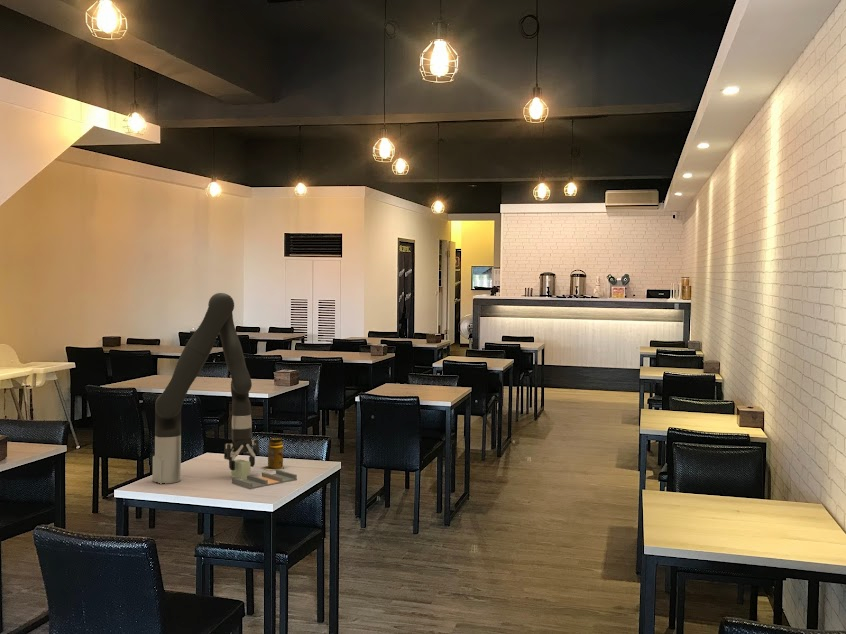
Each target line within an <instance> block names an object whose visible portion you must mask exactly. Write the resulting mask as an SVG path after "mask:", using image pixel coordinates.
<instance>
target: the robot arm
mask: <svg viewBox="0 0 846 634" xmlns="http://www.w3.org/2000/svg"><path fill="white" fill-rule="evenodd" d="M234 309H235V302H234V299H233V297H232V296H231V295H229V294H227V293H224V292H217V293H215V294H213V295H212V296H210V298H209V300H208V308H207V311H206V312H205V315H204V317H203V319H202V321H201V322H200V324H199V325H198V327H197V329H196V330H195V331H194V332H193V334H192V336H190V338H189V340H188V341H187V343H186V344H185V346H184V348H183V350H182V351H181V354H180V356H179V358H178V360H177V362H176V365H175V369H174V371H173V374H172V376H171V379H170V380H169V382H168V384H167V386H166V387H165V389H164V390H163V392H161V394H159V395H158V397H156V399H155V403H154V404H155V405H154V407H155V408H154V409H155V412H154V413H155V414H154V416H155V417H154V418H155V419H154V421H155V422H154V455H153V456H152V480H151V481H152V482H153V481H155V482H154V483H156V482H158V483H157V484H159V483H160V484H159V485H161V484H162V483H165V484H174V483H178V482H180V481H181V479H182V478H181V474H182V473H181V472H182V471H181V468H182V467H181V466H182V465H181V464H182V460H181V459H182V449H181V448H182V406H183V403H184V401H185V398H186V396H187V394H188V391H189V390H190V388H191V386H192V385H193V382H194V381H195V380H196V378H197V377H198V375H199V374H200V373H201V370H202V368H203V367H204V365H205V364H206V362H207V360H208V359H209V356H210V354H211V352H212V351H213V348H214V345H215V343H216V341H217V338H218V335H219V338H220V342H221V347H222V353H223V355H224V360H225V363H226V367H227V369H228V370H229V372H230V373H229V374H230V378H231V382H230V392H231V399H232V400H231V401H232V405H231V412H232V413H231V415H232V417H231V439H232V441H231V443H224V448H223V449H224V451H223V452H224V453H223V459H224V460H227V461H228V468H229V470H230V471H231V470H235V461H234V460H236V458H237V457H238V455H239V454H243V453H247V454H248V462H250V468H251V467H254V466H255V463H256V462H255V461H256V459H255V458H256V456H259V455H260V443H259V439H256V438H253V439H252V437H253V435H252V434H253V433H252V431H253V430H252V429H253V427H252V422H253V421H252V404H251V401H250V391H251V389H252V385H253V384H252V379H251V375H250V372H249V370H248V368H247V364H246V360H245V355H244V351H243V348H242V347H243V346H242V344H241V341H240V339H239V337H238V333H237V330H236V326H235V322H234V317H233V311H234Z"/></svg>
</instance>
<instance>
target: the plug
mask: <svg viewBox="0 0 846 634" xmlns="http://www.w3.org/2000/svg"><path fill="white" fill-rule="evenodd" d="M234 461H235V470H230V471H231V472H230V475H231V476H230V477H232V478H238V479H241V480H245V479H247V475H251V466H250V462H249V460H245V459H242V458H241V459H234Z"/></svg>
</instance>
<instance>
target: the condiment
mask: <svg viewBox="0 0 846 634" xmlns="http://www.w3.org/2000/svg"><path fill="white" fill-rule="evenodd" d="M268 441H269V442H268V445H267V466H260V467H259V468H260V469H263V470H265V471H276V470H281V469H280V468H283V467H284V445H283V438H282V437H270V438H269V440H268Z"/></svg>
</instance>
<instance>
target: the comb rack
mask: <svg viewBox="0 0 846 634" xmlns="http://www.w3.org/2000/svg"><path fill="white" fill-rule="evenodd" d="M292 481H297V474H295V473H292V472H288V471H284V470H282V469H277V470H275V473H273V474H272V473H268V472H265V471H262V472H261V476H255V475H251V474H250V475H247V478H244V479H240V478H236V477H231V484H232V485H237V486H239V487H243V488H245V489H249V490H252V489H258V488H262V487H267V486H273V485H278V484H283V483H287V482H288V483H289V482H292Z"/></svg>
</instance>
